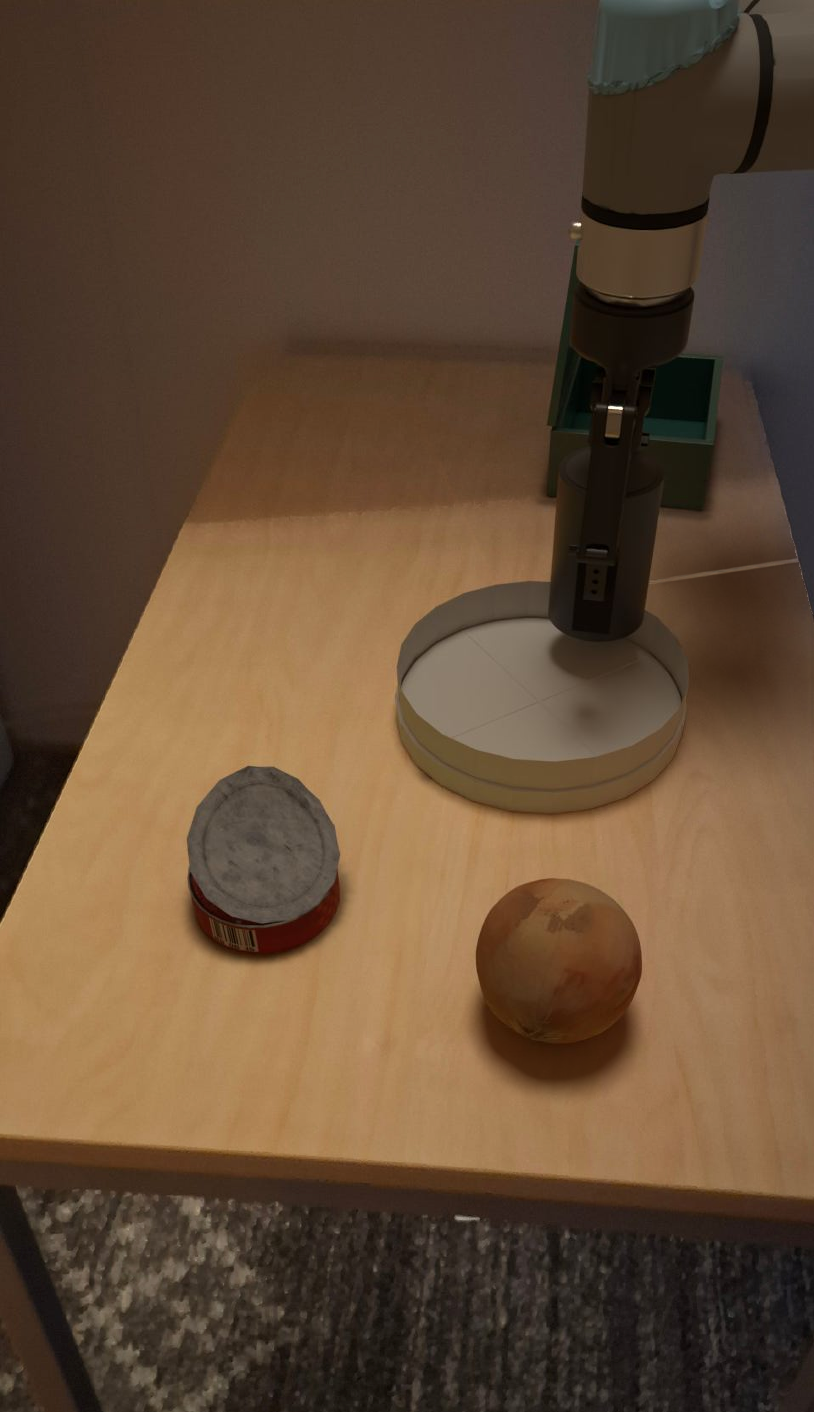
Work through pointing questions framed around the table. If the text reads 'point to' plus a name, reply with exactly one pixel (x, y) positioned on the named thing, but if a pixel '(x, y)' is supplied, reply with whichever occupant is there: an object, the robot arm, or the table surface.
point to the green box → (654, 424)
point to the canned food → (262, 862)
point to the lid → (564, 349)
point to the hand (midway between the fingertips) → (601, 577)
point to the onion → (558, 960)
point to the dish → (537, 703)
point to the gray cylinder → (632, 543)
